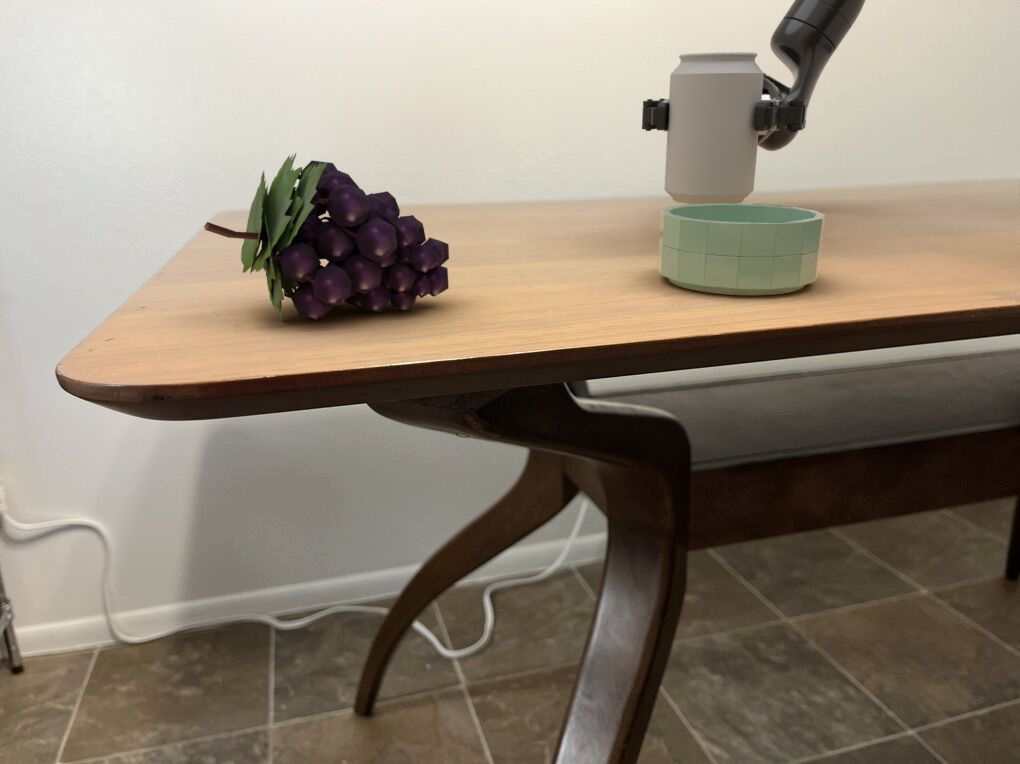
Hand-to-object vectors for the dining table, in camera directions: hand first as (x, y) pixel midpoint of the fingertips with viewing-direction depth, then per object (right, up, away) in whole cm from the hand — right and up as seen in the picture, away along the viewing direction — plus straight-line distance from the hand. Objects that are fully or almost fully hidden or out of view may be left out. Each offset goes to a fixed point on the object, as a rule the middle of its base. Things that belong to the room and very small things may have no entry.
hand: (709, 116), depth 66 cm
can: (+1, -6, +4) cm, 7 cm away
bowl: (0, -14, -7) cm, 16 cm away
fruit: (-27, -17, -15) cm, 35 cm away
